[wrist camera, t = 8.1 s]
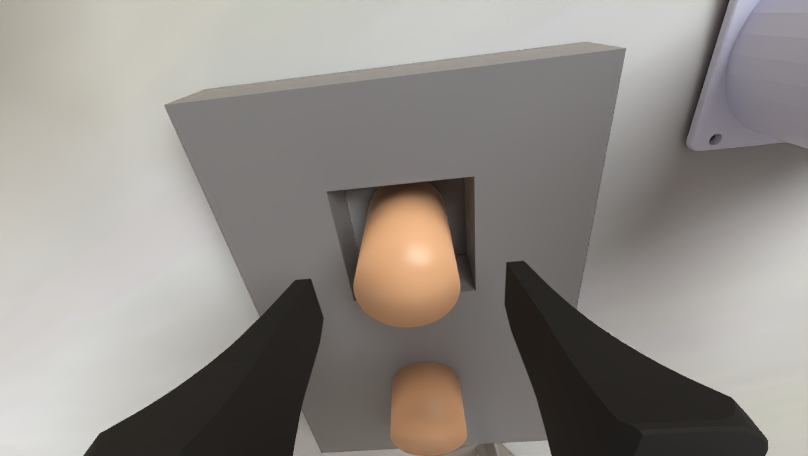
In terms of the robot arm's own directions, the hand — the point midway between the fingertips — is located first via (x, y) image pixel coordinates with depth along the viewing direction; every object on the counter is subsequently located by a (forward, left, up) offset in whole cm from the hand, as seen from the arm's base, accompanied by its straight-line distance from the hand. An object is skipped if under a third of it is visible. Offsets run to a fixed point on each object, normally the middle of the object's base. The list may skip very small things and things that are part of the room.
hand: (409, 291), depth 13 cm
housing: (0, +5, -6) cm, 8 cm away
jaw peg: (0, 0, -6) cm, 6 cm away
